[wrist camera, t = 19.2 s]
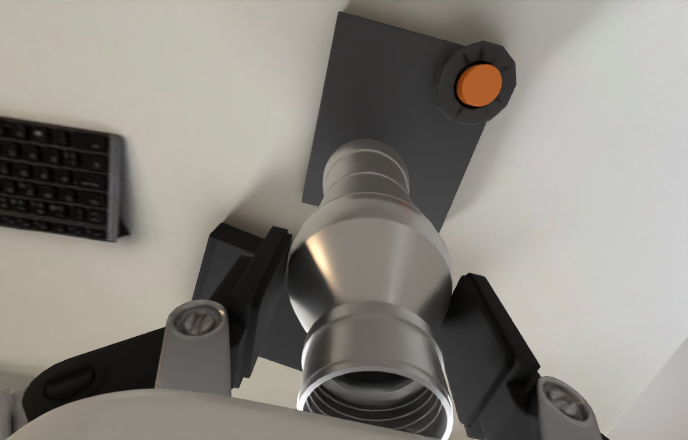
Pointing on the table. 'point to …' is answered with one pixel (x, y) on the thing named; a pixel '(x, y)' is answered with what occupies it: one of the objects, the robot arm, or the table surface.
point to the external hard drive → (285, 325)
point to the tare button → (479, 85)
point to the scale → (404, 106)
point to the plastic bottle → (372, 298)
